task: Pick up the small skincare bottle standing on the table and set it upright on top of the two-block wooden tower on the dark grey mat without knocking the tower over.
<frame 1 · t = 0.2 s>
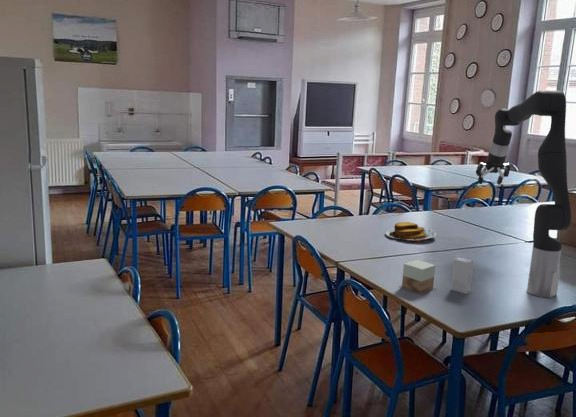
hand: (489, 183, 245), 31 cm above the table, tool tilted 20°, fingers open, 8 cm apart
food on plate: (410, 237, 270), on the table
skincare box: (460, 291, 195), on the table
mat: (417, 288, 196), on the table
upper block: (418, 276, 195), point 5 cm above the table, touching lower block
lower block: (417, 287, 196), resting on mat, touching upper block
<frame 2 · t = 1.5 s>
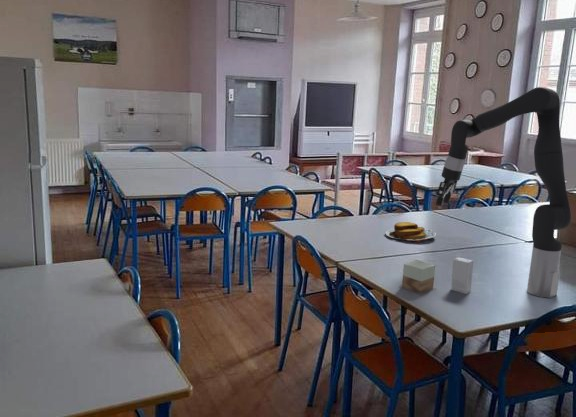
hand: (442, 203, 226), 25 cm above the table, tool pointing down, fingers open, 8 cm apart
nothing on the table moved.
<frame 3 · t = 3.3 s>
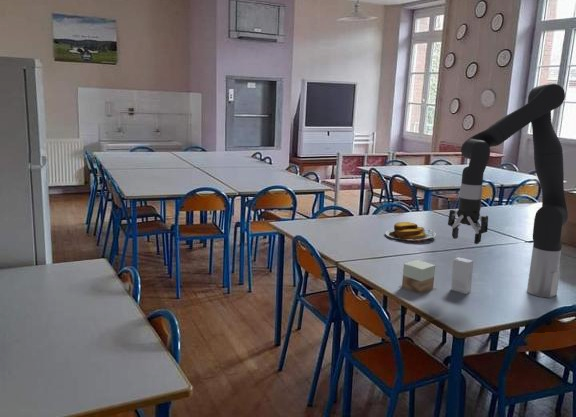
hand: (465, 240, 191), 19 cm above the table, tool pointing down, fingers open, 8 cm apart
nothing on the table moved.
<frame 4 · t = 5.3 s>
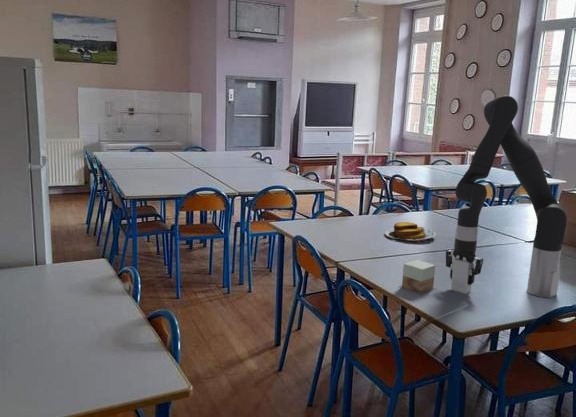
hand: (461, 281, 195), 4 cm above the table, tool pointing down, fingers closed on skincare box, 6 cm apart
skincare box: (460, 291, 195), on the table, touching gripper
everything else where it was.
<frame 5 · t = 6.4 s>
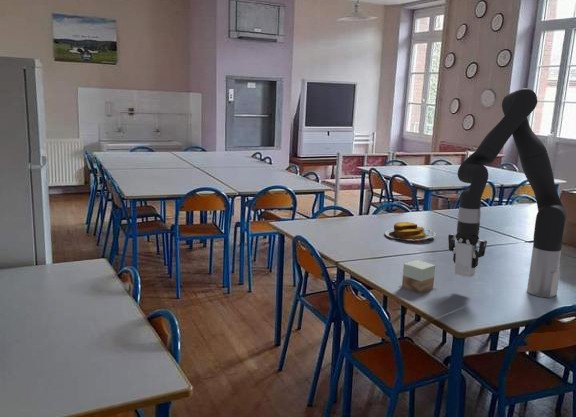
hand: (464, 265, 192), 10 cm above the table, tool pointing down, fingers closed on skincare box, 6 cm apart
skincare box: (464, 275, 193), point 6 cm above the table, touching gripper
everything else where it was.
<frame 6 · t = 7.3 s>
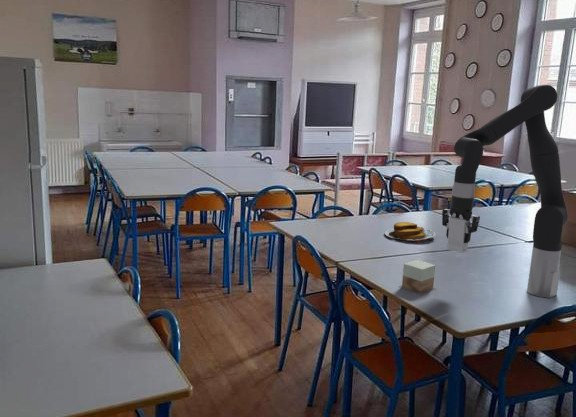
hand: (457, 240, 192), 19 cm above the table, tool pointing down, fingers closed on skincare box, 6 cm apart
skincare box: (456, 250, 193), point 15 cm above the table, touching gripper
everything else where it was.
when the fingers open (14 cm above the table, at t = 9.6 s): skincare box stays where it is, resting on upper block.
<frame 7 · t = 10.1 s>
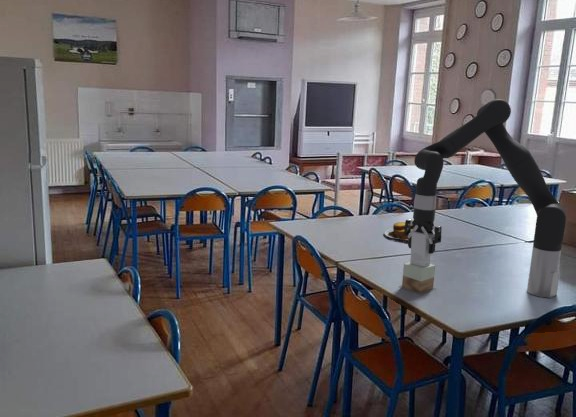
hand: (420, 250, 193), 15 cm above the table, tool pointing down, fingers open, 8 cm apart
skincare box: (419, 264, 194), point 9 cm above the table, touching upper block
upper block: (418, 276, 195), point 5 cm above the table, touching lower block, skincare box
everything else where it was.
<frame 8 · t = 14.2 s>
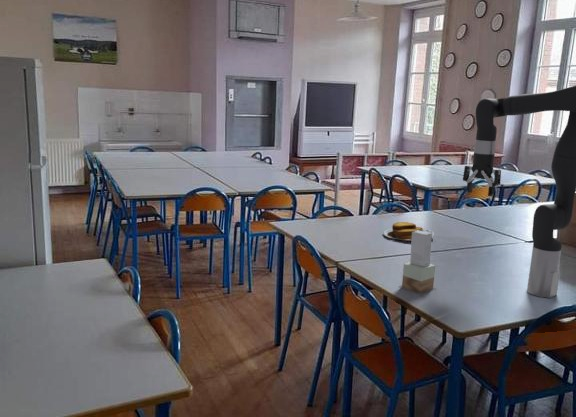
hand: (479, 194, 206), 33 cm above the table, tool pointing down, fingers open, 8 cm apart
at the end: skincare box 0.1 cm from the upper block (horizontally); skincare box point 9.2 cm above the table; upper block moved 0.0 cm from its start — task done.
